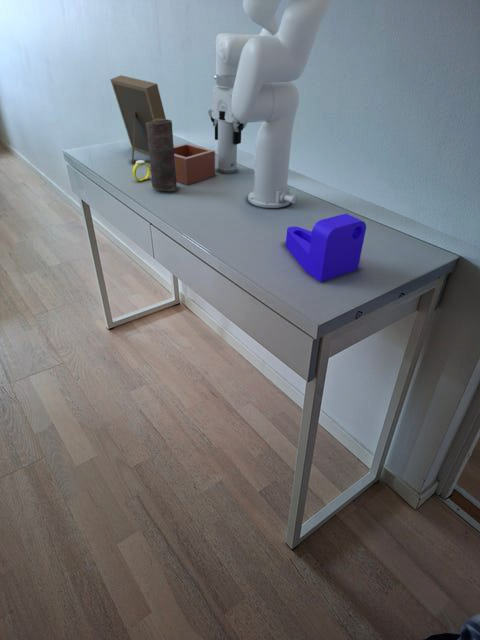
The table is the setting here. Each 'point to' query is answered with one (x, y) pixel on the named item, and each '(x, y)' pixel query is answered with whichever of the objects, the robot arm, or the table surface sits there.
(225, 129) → the travel mug
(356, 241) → the bracket
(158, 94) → the photo frame
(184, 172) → the holder
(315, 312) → the table surface
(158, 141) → the dark brown tall block
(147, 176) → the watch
